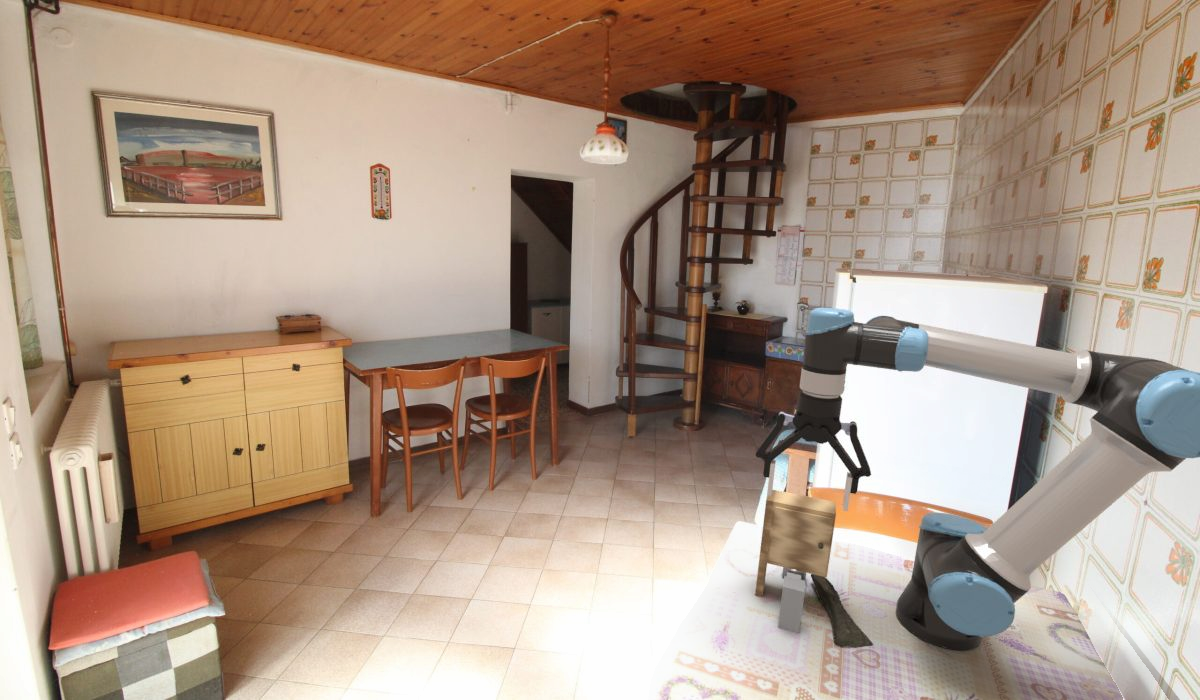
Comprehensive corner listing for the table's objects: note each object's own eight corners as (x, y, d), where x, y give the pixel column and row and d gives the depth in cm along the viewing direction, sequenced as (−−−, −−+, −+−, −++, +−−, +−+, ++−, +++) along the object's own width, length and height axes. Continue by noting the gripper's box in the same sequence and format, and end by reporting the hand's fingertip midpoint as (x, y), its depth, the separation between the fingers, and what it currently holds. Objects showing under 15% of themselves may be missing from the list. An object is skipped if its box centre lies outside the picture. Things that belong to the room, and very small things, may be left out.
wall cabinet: (821, 596, 125) (835, 501, 120) (821, 615, 118) (836, 516, 114) (757, 580, 129) (768, 488, 125) (754, 598, 123) (765, 502, 118)
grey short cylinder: (805, 575, 132) (807, 563, 132) (804, 587, 128) (806, 575, 127) (783, 569, 134) (784, 558, 134) (781, 581, 130) (782, 569, 129)
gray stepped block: (802, 586, 128) (807, 549, 126) (799, 633, 112) (804, 592, 111) (783, 581, 129) (788, 544, 128) (777, 627, 114) (782, 586, 112)
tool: (874, 655, 110) (878, 642, 109) (835, 652, 109) (839, 639, 108) (828, 580, 130) (832, 569, 129) (795, 577, 129) (799, 566, 128)
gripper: (893, 397, 105) (876, 505, 109) (753, 379, 113) (742, 480, 117) (898, 408, 98) (880, 523, 102) (748, 387, 106) (737, 494, 110)
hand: (806, 500), depth 110 cm, fingers open, 13 cm apart
